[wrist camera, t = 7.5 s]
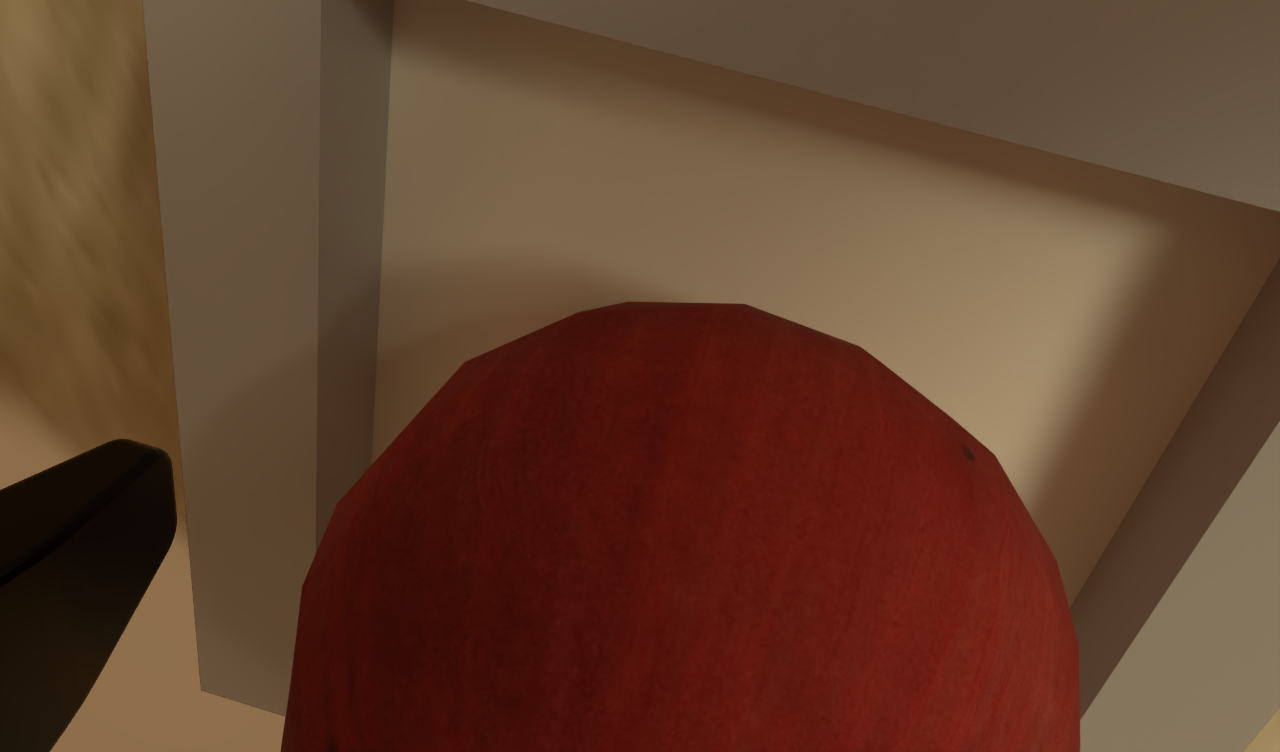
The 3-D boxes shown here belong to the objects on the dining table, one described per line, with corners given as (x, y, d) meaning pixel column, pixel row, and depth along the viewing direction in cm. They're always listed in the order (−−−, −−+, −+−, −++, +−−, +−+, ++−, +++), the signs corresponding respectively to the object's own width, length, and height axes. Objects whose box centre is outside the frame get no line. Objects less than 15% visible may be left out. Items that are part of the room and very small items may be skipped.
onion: (659, 648, 14) (441, 1520, 8) (363, 291, 12) (-262, 1115, 6) (1132, 509, 12) (1363, 1649, 5) (866, 18, 9) (725, 994, 3)
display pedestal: (1553, -151, 11) (1939, 39, 7) (1062, 649, 18) (1095, 992, 14) (374, -426, 12) (37, -414, 8) (346, 441, 19) (166, 703, 15)
